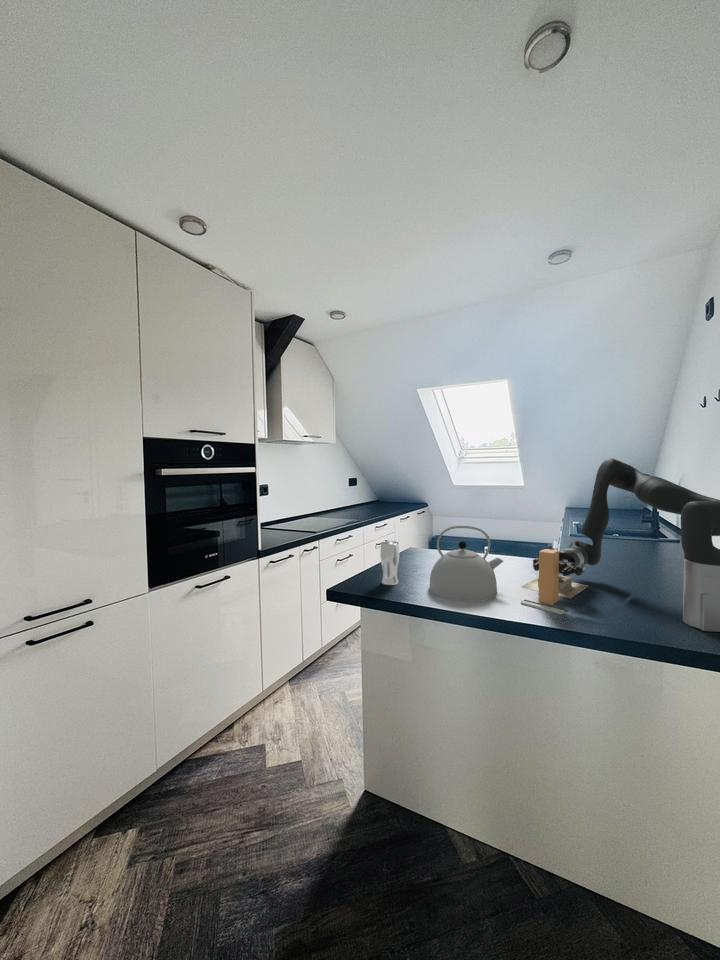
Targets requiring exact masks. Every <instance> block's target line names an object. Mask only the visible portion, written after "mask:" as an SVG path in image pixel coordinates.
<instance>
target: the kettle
mask: <svg viewBox="0 0 720 960" xmlns="http://www.w3.org/2000/svg"><path fill="white" fill-rule="evenodd" d="M453 529H454V530H455V529H471V530H475V531H478V532H481V533H482V534H483V535H484V536H485V538H486V539H487V549H486V551H485V554H484V555H483V556H481V555H480V554H478V553H477V552H475V551H472V550H468V549H466V547H467V543H466V542H465V541H463V540H461V541H460V542H459V543H458V548H459V549H453V550H449V551H448V552H447V553H445V554H443V552H442V551H441V549H440V540H441V538H442V536H443V535H444V534H445V533H447V532H448V531H450V530H453ZM491 545H492V544H491V539H490V537H489V536H488V533H486V532H485V531H484V530H483V529H481V528H479V527H476V526H470V525H453V526H449V527H448V528H445V529H444V530H442V532H440V534H439V535H438V537H437V540H436V549H437V552H438V553H439V554H440V555H439V556H441V557H440V558H438V559H437V560H436V562H435V563H434V564H433V567H432V569H431V572H430V574H429V575H430V576H429V591H430V592H431V593H432V594H433V595H435V596H438V597H441V598H442V599H443V598H444V599H446V600H452V601H455V602H456V601H457V602H482V601H488V600H492V599H493V598H495V597H496V596H497V595H498V592H497V591H498V590H497V589H498V586H497V577H496V574H495V571H494V570H495V569H496V568H498V567H499V566H500V565H501V564H502V563H504V560H503V559H501V558H499V557H495V558H493V559H491V560H489V561H487V557H488V555H489V552H490V549H491Z"/></svg>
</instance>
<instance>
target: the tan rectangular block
mask: <svg viewBox="0 0 720 960" xmlns="http://www.w3.org/2000/svg"><path fill="white" fill-rule="evenodd" d="M559 552H560V550H556V549H549V548H544V549H542V550H539V551H538V558H539V570H538V578H539V591H538V603H542V604H546V605H550V606H553V605H554V604H555V603H557V602H559V598H560V596H559V575H560V573H559Z"/></svg>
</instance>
